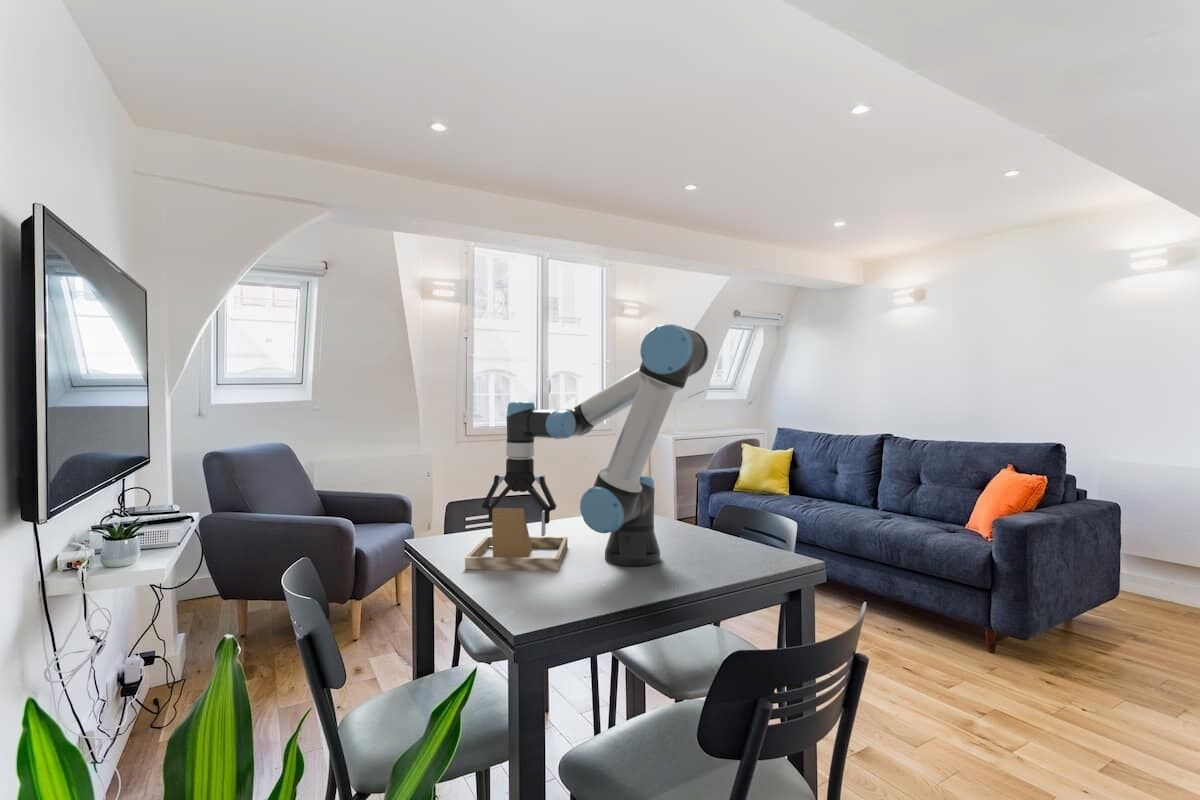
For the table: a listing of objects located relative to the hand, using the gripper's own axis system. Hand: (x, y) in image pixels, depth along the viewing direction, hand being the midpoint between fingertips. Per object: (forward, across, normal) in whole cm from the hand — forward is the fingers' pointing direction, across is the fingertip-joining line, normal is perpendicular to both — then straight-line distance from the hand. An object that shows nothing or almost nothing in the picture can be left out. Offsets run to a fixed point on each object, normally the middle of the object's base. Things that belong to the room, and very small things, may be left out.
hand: (518, 534), depth 163 cm
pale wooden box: (+6, 0, 0) cm, 6 cm away
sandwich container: (+7, +2, -1) cm, 7 cm away
